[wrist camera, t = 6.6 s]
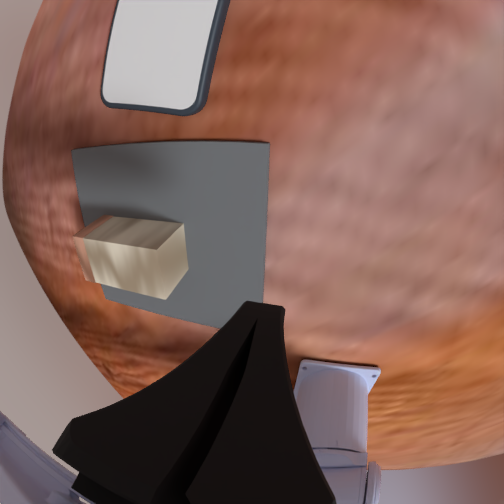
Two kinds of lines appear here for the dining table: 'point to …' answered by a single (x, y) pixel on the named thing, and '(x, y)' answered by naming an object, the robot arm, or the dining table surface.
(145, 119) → the dining table surface
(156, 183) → the rubber mat
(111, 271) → the maple block
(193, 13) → the phone case
